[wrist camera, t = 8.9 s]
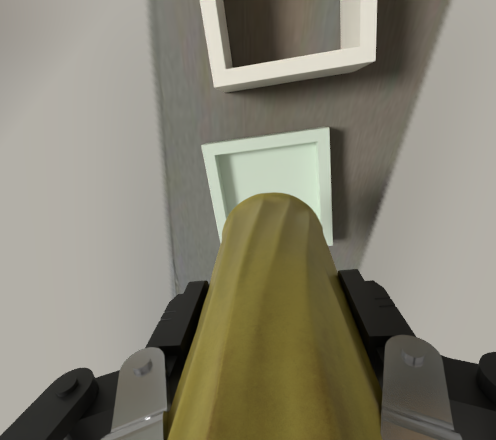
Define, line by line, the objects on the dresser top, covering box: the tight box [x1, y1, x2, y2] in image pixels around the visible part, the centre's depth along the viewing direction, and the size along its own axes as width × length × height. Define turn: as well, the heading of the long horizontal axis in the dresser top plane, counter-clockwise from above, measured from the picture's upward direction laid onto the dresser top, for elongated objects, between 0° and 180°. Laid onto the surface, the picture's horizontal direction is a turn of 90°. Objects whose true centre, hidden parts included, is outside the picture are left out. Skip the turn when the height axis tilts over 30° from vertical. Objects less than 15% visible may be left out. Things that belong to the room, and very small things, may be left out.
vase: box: [167, 192, 383, 440], centre depth 10 cm, size 6×6×14 cm
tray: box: [201, 126, 333, 246], centre depth 26 cm, size 11×11×2 cm
